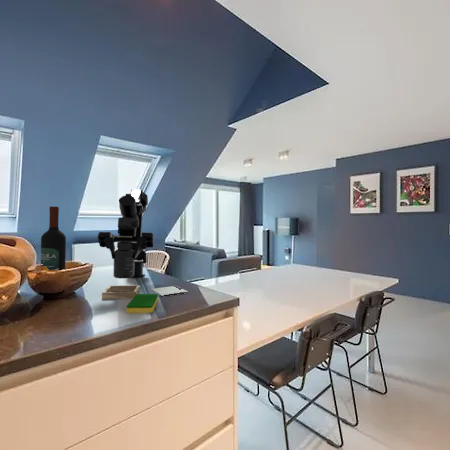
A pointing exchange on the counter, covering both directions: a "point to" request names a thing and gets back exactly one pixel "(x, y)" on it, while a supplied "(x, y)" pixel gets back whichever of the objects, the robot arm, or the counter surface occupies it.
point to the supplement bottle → (124, 260)
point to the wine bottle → (53, 244)
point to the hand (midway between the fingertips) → (123, 258)
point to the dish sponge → (142, 303)
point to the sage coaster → (167, 290)
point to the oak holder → (115, 293)
